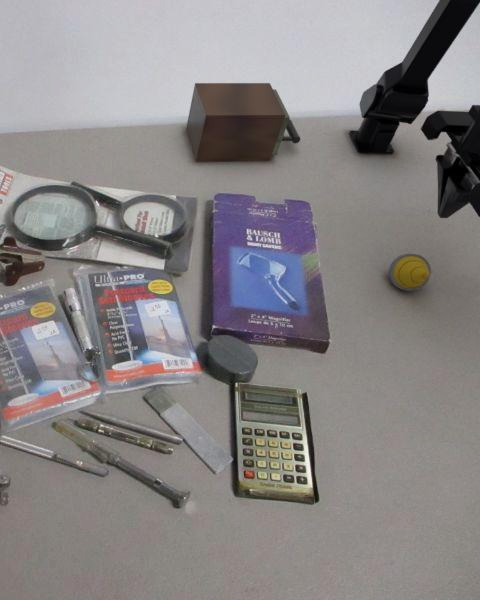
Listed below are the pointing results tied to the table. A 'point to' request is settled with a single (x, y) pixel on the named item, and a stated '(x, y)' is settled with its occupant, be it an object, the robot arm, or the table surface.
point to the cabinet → (234, 122)
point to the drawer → (285, 128)
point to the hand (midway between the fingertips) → (442, 216)
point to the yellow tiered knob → (409, 272)
